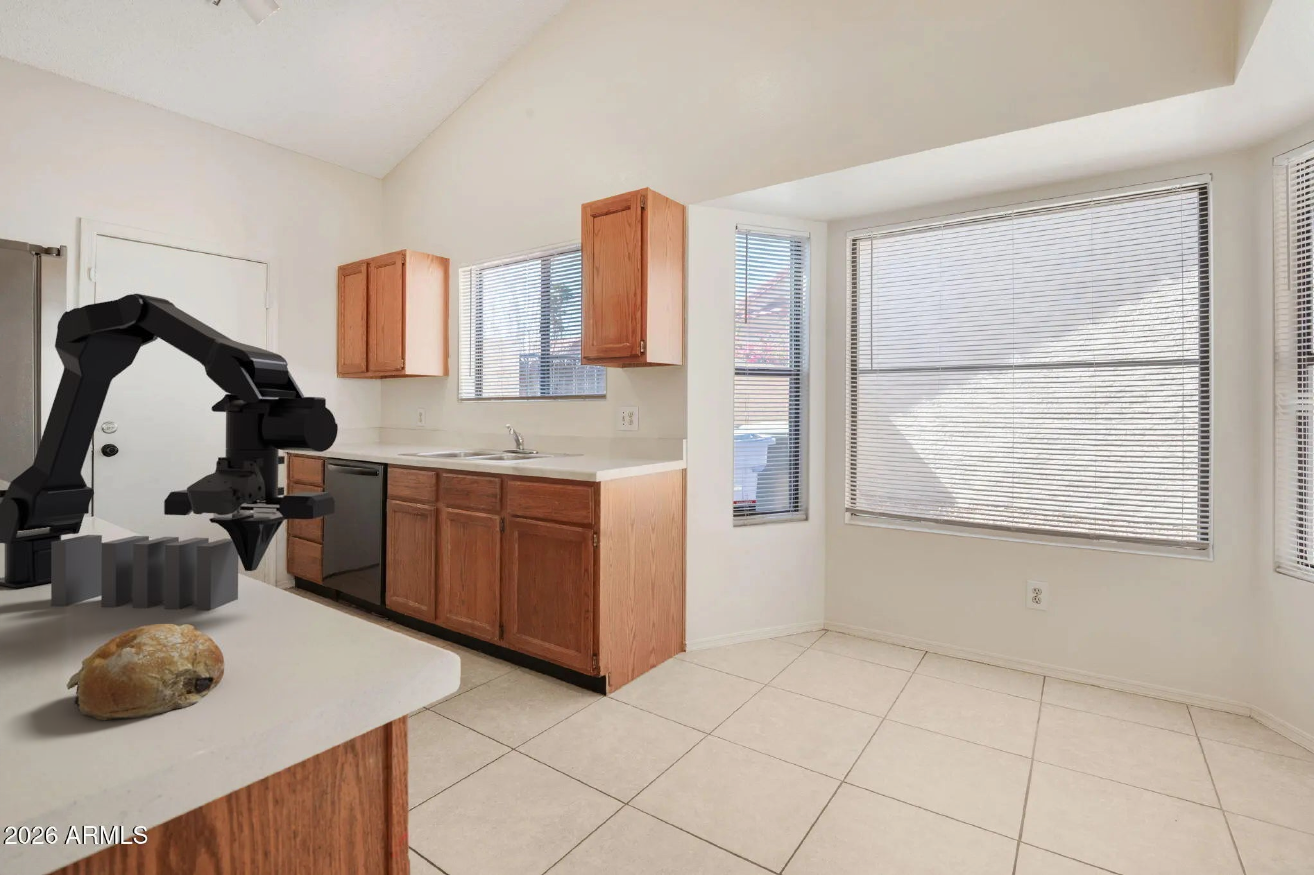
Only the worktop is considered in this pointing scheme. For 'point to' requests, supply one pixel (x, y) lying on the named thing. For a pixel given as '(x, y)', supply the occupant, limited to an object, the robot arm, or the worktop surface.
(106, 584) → the tile
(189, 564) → the tile
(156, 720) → the worktop surface
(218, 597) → the tile
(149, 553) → the tile
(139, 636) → the bread roll
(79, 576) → the tile
